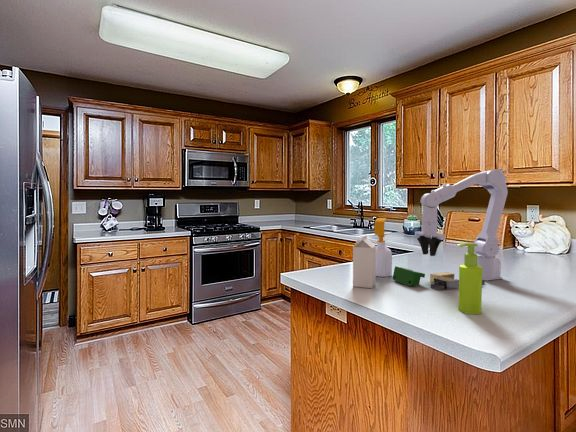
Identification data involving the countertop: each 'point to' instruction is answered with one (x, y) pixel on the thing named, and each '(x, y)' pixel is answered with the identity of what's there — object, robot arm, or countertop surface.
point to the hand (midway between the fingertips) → (429, 255)
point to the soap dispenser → (470, 282)
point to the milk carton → (364, 263)
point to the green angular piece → (407, 276)
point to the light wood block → (442, 276)
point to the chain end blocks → (446, 284)
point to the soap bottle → (382, 251)
